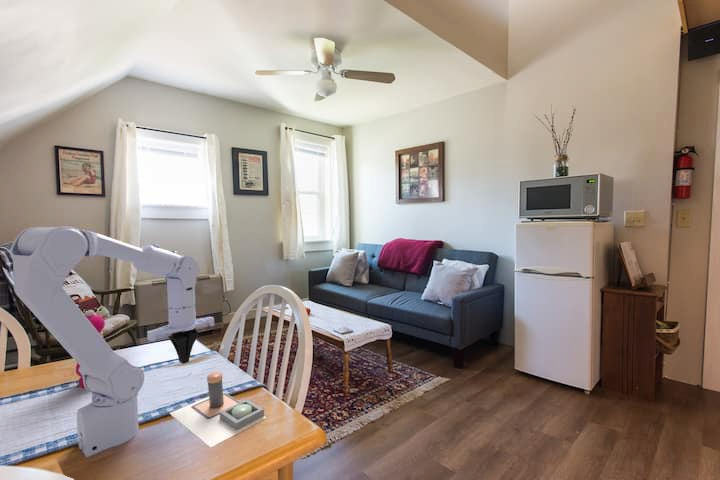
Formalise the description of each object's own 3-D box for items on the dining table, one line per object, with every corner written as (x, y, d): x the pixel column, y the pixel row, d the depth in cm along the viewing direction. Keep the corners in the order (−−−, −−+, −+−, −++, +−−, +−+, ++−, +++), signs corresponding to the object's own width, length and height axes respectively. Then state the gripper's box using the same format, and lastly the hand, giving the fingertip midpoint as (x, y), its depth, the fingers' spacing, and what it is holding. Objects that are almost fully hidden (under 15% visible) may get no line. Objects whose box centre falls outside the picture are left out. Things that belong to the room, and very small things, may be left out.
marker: (207, 405, 78) (204, 376, 78) (220, 399, 80) (218, 371, 80) (212, 410, 76) (210, 380, 75) (226, 404, 78) (224, 375, 77)
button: (238, 424, 70) (238, 416, 70) (228, 417, 73) (228, 410, 73) (255, 415, 74) (255, 408, 73) (245, 409, 76) (244, 402, 76)
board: (208, 456, 62) (208, 443, 62) (164, 417, 75) (163, 406, 75) (271, 421, 73) (271, 410, 73) (223, 392, 86) (223, 383, 86)
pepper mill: (70, 386, 90) (66, 312, 89) (100, 374, 97) (96, 305, 95) (87, 391, 87) (83, 314, 86) (116, 379, 94) (112, 308, 93)
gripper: (155, 315, 72) (157, 377, 73) (219, 302, 83) (221, 356, 84) (142, 310, 76) (145, 368, 77) (205, 298, 88) (207, 349, 89)
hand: (184, 361), depth 81 cm, fingers closed
